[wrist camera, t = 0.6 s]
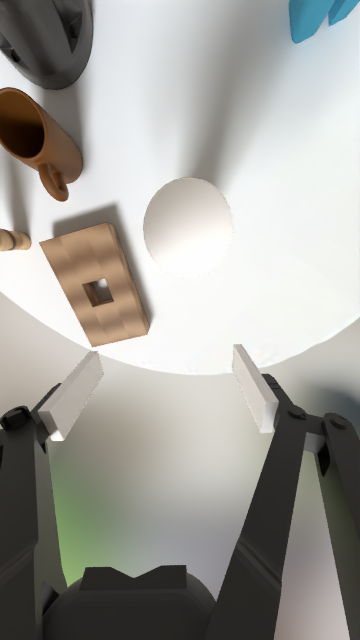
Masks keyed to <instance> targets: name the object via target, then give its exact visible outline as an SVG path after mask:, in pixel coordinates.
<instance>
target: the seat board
mask: <svg viewBox="0 0 360 640" xmlns="http://www.w3.org/2000/svg"><path fill="white" fill-rule="evenodd" d="M39 244H40V246H41V248H42V250H43V252H44V254H45V256H46V258H47V260H48V262H49V264H50V266H51V268H52V269H53V271H54V273H55V275H56V277H57V279H58V281H59V283H60V285H61V287H62V289H63V291H64V293H65V295H66V297H67V299H68V301H69V303H70V305H71V307H72V309H73V311H74V313H75V314H76V316H77V318H78V320H79V322H80V324H81V326H82V328H83V330H84V332H85V334H86V336H87V338H88V340H89V342H90V344H91V346H92V347H96V346H100V345H105V344H109V343H113V342H118V341H122V340H126V339H131V338H135V337H139V336H144V335H147V334H148V331H149V328H150V327H149V324H148V321H147V318H146V315H145V313H144V310H143V307H142V304H141V301H140V298H139V295H138V293H137V290H136V287H135V284H134V281H133V278H132V275H131V273H130V270H129V267H128V264H127V261H126V258H125V255H124V253H123V250H122V247H121V244H120V241H119V238H118V235H117V233H116V230H115V227H114V225H112V224H109V223H107V222H106V223H102V224H99V225H96V226H92V227H89V228H86V229H82V230H79V231H76V232H72V233H69V234H66V235H62V236H59V237H56V238H53V239H49V240H46V241H43V242H39ZM104 278H105V280H106V283H107V285H108V288H109V290H110V292H111V295H112V297H113V299H111V300H107V301H103V302H100V301H99V299H98V296H97V294H96V292H95V290H94V287H93V285H92V283H91V282H93V281H96V280H100V279H104Z"/></svg>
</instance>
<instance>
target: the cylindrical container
mask: <svg viewBox="0 0 360 640" xmlns="http://www.w3.org/2000/svg"><path fill="white" fill-rule="evenodd" d="M143 231H144V240H145V244H146V247H147V250H148V252H149V254H150V256H151V257H152V259H153V260H154V262H155V263H156V264H157V265H158V266H159V267H160V268H161V269H162V270H164V271H165V272H167V273H169V274H171V275H173V276H176V277H181V278H194V277H199V276H202V275H204V274H206V273H208V272H210V271H211V270H213V269H214V268H215V267H216V266H217V265H218V264H219V263H220V262H221V261H222V259H223V258H224V257H225V255H226V253H227V251H228V249H229V247H230V243H231V240H232V234H233V219H232V214H231V210H230V207H229V205H228V203H227V201H226V199H225V197H224V196H223V195H222V193H221V192H220V191H219V190H218V189H217V188H216V187H215V186H213V185H212V184H210V183H209V182H207V181H205V180H202V179H198V178H193V177H184V178H180V179H176V180H173V181H171V182H169V183H167V184H166V185H164V186H163V187H162V188H161V189H160V190H158V191H157V193H156V194H155V195H154V197H153V198H152V199H151V201H150V203H149V205H148V207H147V210H146V213H145V217H144V225H143Z"/></svg>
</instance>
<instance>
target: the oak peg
mask: <svg viewBox="0 0 360 640" xmlns="http://www.w3.org/2000/svg"><path fill="white" fill-rule="evenodd" d="M30 247H31V240H30V238H29V237H28V236H27V235H26V234H25V233H22V232H15V231H8V230H5V229H0V251H8V250H27V249H29V248H30Z"/></svg>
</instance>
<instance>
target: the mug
mask: <svg viewBox="0 0 360 640" xmlns="http://www.w3.org/2000/svg"><path fill="white" fill-rule="evenodd" d="M0 143H1V144H2V146H3V147H4V148H5V149H6V150H7V151H8V152H9V153H10V154H11V155H13V156H14V157H16V158H17V159H19V160H20V161H22V162H23V163H25V164H26V165H28V166H30V167H32V168H33V169H35V170H37V171H39V175H40V179H41V182H42V183H43V185H44V187H45V189H46V190H47V192H48V193H49V194H50V195H51V196H52V197H53V198H54V199H56V200H58V201H62V202H64V201H66V200H67V199H68V196H69V194H68V189H67V186H66V184H69V183H72V182H74V181H76V180H77V179H78V177H79V176H80V173H81V170H82V158H81V154H80V151H79V149H78V147H77V145H76V144H75V142H74V141H73V140H72V139H71V137H70V136H69V135H68V134H67V133H66V132H65V131H64V130H63V129H62V128H61V127H60V126H59V125H58V124H57V122H56V121H55V120H54V119H53V118H52V117H51V116H50V115H49V114H48V113H47V112H46V111H45V110H44V109H43V108H42V107H41V106H40V105H39V104H38V103H36V102H35V101H34V100H33V99H32V98H31V97H30V96H29V95H27V94H26V93H24V92H23V91H21V90H19V89H16V88H11V87H7V88H2V89H0Z"/></svg>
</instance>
